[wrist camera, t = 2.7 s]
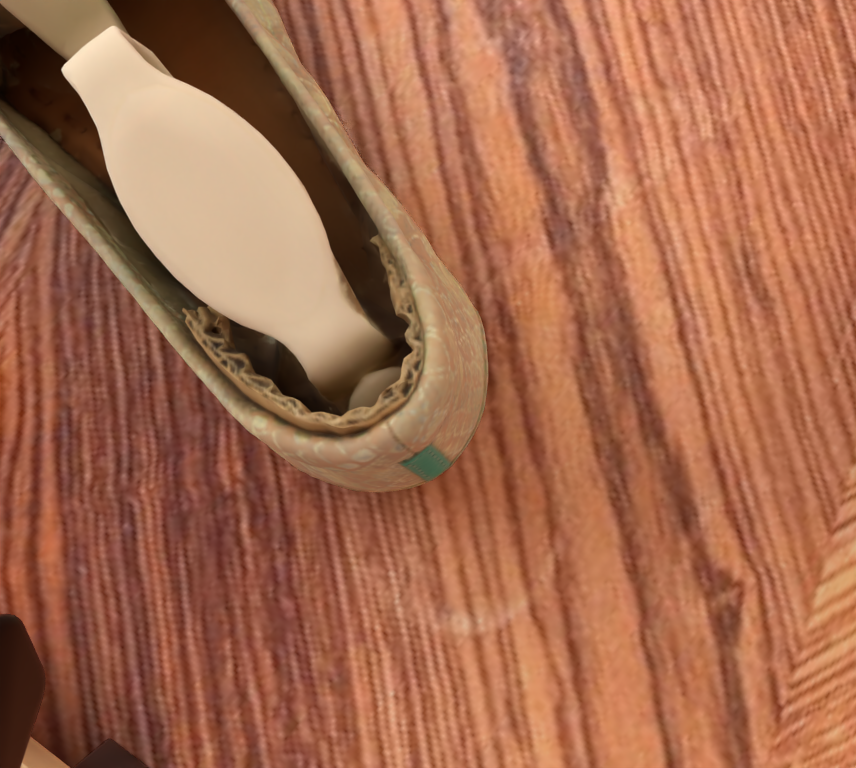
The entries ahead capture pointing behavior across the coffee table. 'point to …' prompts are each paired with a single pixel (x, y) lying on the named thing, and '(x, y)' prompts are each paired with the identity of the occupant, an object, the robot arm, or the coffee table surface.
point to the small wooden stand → (104, 764)
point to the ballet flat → (248, 229)
